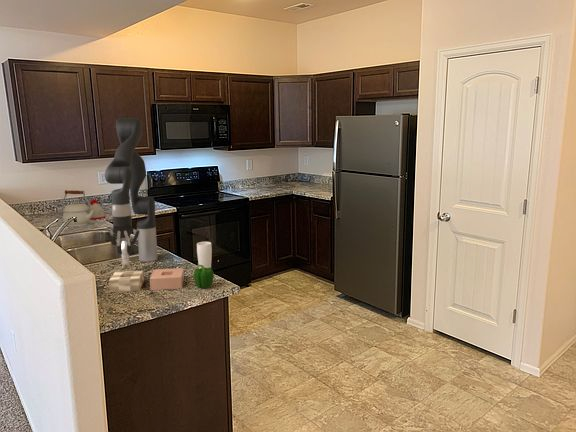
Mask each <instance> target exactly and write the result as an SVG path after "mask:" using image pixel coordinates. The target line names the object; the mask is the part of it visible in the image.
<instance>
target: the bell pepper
mask: <svg viewBox="0 0 576 432" xmlns="http://www.w3.org/2000/svg"><path fill="white" fill-rule="evenodd" d="M196 267H197V268H196V269H194V272H193V279H194V280H193V281H194V283H195V286H196V287H197V288H198V289H208V288H209V289H210V288H211V287H212V285H213V282H214V278H215V276H214V274H215V273H214V270H213V269H212V266H211V267H210V268H205V267H204V266H203V265H199V264H197V265H196ZM199 267H202V268H200V269H199Z"/></svg>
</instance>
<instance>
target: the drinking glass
mask: <svg viewBox="0 0 576 432" xmlns="http://www.w3.org/2000/svg"><path fill="white" fill-rule="evenodd" d="M212 251H213V249H212V242H210V241H200V242H197V243H196V255H197V261H198V262H197V264H198V265H203V266H204V267H205V268H210V267H211V268H212V253H213V252H212ZM200 268H202V267H198V269H200Z"/></svg>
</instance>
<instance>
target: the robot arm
mask: <svg viewBox="0 0 576 432" xmlns="http://www.w3.org/2000/svg"><path fill="white" fill-rule="evenodd" d="M115 130H116V135H117V138H118V141H119V144H120V145H119V146H118V147H117V148H116V150H115V153H114V156H113V159H112V160H111V162H110V163H109V164H108V165H107V167H106V169H105V172H104V179H105V181H106V182H107V183H108V184H112V185H113V184H114V185H118V184H119V185H122V187H120V188H117V189H114V190H112V191H111V193H110V194H111V195H110V196H111V197H110V198H111V215H112V217H111V218H112V229H111V230H109V231H107V232H106V236H107V238H108V240H109V241H110V243H111V245H113V246H116V248H117V253H118V255H120V256H121V244H120V241H121V240H123V239H125V240H126V241H127V244H128V246H127V247H128V254H129V255H130V254H132V251H133V247H132V246H133V245H134V244H136V243H137V246H138V247H137V248H138V258H139V259H138V260H139V261H140V262H146V263H147V262H148V263H149V262H153V261H156V260H158V244H157V243H158V242H157V241H158V240H157V229H156V228H157V227H156V225H157V224H156V201H155V198H154V197H153V196H139V190H140V188H141V187H142V184H143V183H144V182H145V180H146V176H147V167H146V163H145V160H144V159H143V157H142V156H141V155H140V154H139V153H138V152H137V151H136V148H137V146H138V144H139V142H140V140H141V139H142V135H143V130H144V129H143V123H142V120H141V119H140V118H138V117H137V118H136V117H119V118H117V119H116V120H115ZM132 211H133V214H135V215H138V216H139V215H141V216H142V215H147V217H146V218H144V219H142V220H140V221H137V223H136V229H135V228H134V227H133V220H132V219H133V217H132ZM131 234H133V236H134V237H133V239H132V238H131ZM114 235H115V237H116V239H115V237H114Z"/></svg>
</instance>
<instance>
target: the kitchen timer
mask: <svg viewBox="0 0 576 432" xmlns="http://www.w3.org/2000/svg"><path fill="white" fill-rule="evenodd" d="M89 202H90V210H89V211H90V212H91V210H95V211H94V213H93V215H92V217H91V219H90V221H96V220H95V219H99V220H102V219H101V218H104V217H105V218H106V214H105V210H104V209H103V207H102V206H101V205H100V204H99V200H97V199H95V198H93V199H91V201H89ZM87 207H88V208H89V206H87ZM105 218H104V219H105Z"/></svg>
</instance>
